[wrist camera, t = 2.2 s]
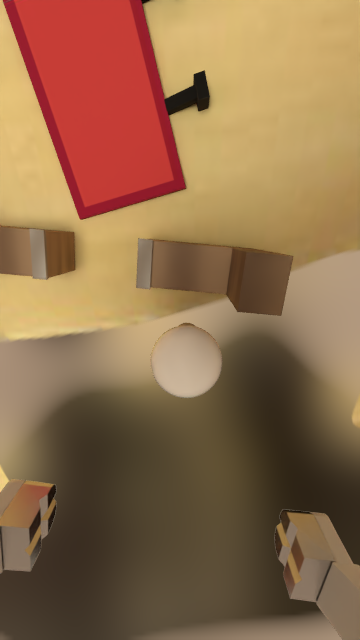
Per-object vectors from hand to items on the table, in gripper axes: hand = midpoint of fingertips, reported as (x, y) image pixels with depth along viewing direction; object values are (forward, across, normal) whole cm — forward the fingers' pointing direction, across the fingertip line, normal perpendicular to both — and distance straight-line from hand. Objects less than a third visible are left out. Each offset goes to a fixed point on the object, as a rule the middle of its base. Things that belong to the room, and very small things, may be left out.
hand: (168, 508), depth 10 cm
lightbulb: (+23, -1, +1) cm, 23 cm away
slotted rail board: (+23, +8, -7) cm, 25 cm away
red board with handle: (+23, +10, -27) cm, 37 cm away
